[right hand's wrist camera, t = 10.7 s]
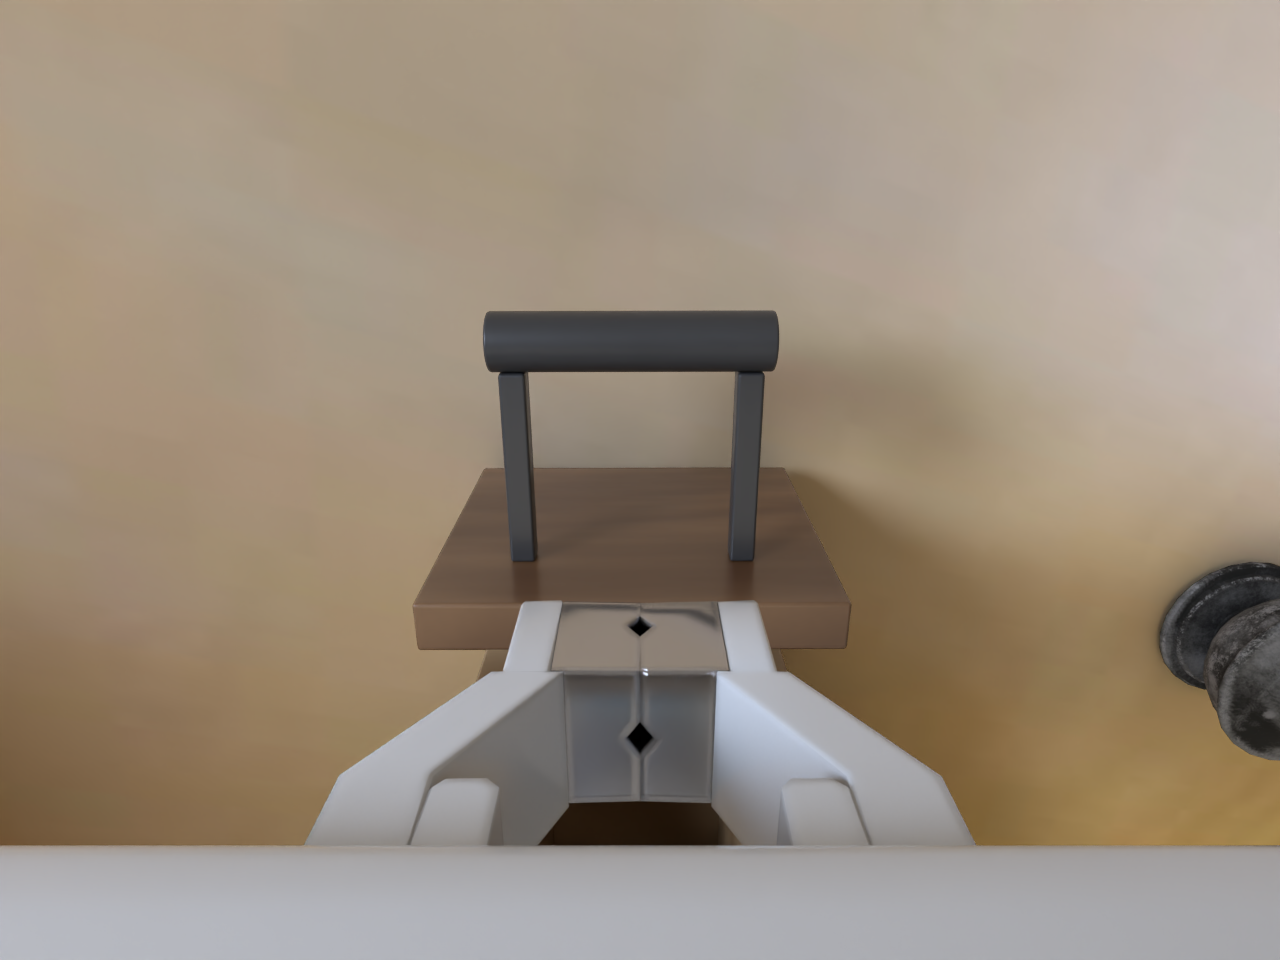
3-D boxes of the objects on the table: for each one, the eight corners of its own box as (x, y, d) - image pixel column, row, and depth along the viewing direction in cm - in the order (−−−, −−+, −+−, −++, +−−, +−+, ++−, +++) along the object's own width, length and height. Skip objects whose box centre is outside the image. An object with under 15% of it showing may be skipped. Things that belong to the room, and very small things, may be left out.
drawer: (468, 276, 23) (376, 330, 15) (797, 276, 23) (883, 330, 15) (518, 905, 32) (479, 1148, 24) (754, 904, 32) (792, 1147, 24)
